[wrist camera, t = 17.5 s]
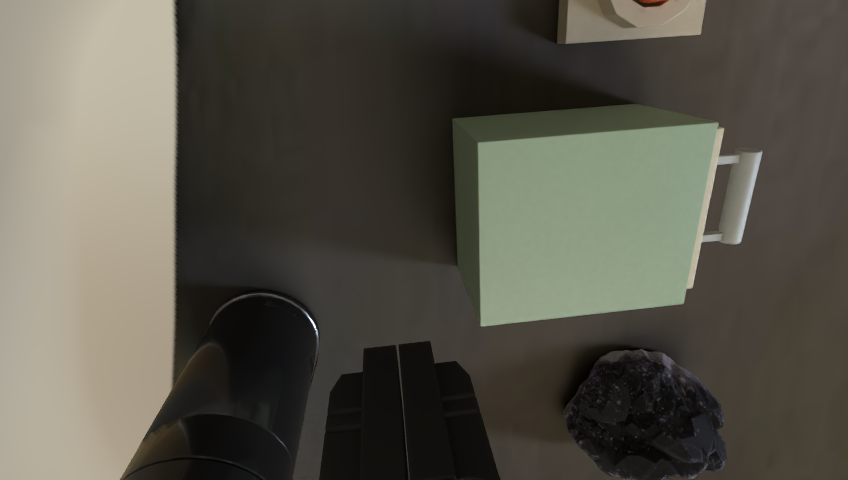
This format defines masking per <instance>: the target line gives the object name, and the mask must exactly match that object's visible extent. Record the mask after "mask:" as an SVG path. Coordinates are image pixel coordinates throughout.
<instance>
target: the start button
mask: <svg viewBox="0 0 848 480" xmlns="http://www.w3.org/2000/svg"><path fill="white" fill-rule="evenodd" d="M639 1H642V2H646V3H651V2H658V1H664V0H639Z"/></svg>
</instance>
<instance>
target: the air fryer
mask: <svg viewBox="0 0 848 480" xmlns="http://www.w3.org/2000/svg"><path fill="white" fill-rule="evenodd" d="M452 125H453V152H454V180H455V207H456V235H457V262H458V269H459V271H460V274H461V277H462V279H463V282H464V285H465V287H466V290H467V292H468V295H469V298H470V300H471V303H472V306H473V308H474V311H475V314H476V316H477V319H478V322H479V324H480V326H490V325H499V324H508V323H517V322H526V321H535V320H544V319H552V318H561V317H570V316H579V315H588V314H597V313H606V312H615V311H624V310H633V309H642V308H650V307H659V306H668V305H677V304H683V303H684V299H685V294H686V288H687V283H688V278H689V273H690V268H691V263H692V257H693V252H694V247H695V242H696V237H697V232H698V227H699V221H700V216H701V211H702V206H703V201H704V196H705V190H706V185H707V180H708V175H709V170H710V165H711V159H712V154H713V149H714V144H715V139H716V134H717V128H718V122H716V121H711V120H707V119H703V118H698V117H694V116H689V115H685V114H680V113H676V112H672V111H667V110H663V109H658V108H654V107H649V106H645V105H641V104H628V105H615V106H603V107H590V108H578V109H565V110H553V111H540V112H528V113H515V114H503V115H490V116H478V117H465V118H453V119H452Z"/></svg>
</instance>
